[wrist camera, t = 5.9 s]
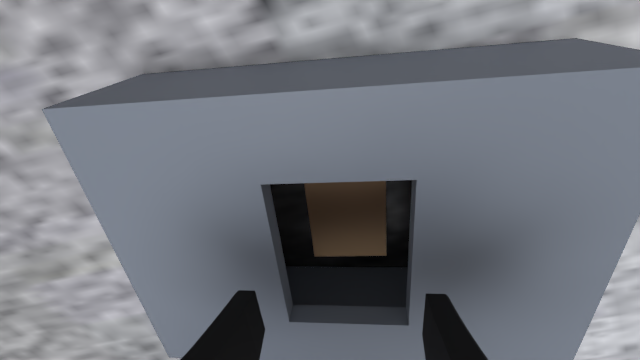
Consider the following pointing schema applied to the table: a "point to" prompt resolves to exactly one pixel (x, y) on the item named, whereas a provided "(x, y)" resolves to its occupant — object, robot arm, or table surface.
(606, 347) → the table surface
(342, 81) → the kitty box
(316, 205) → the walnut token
